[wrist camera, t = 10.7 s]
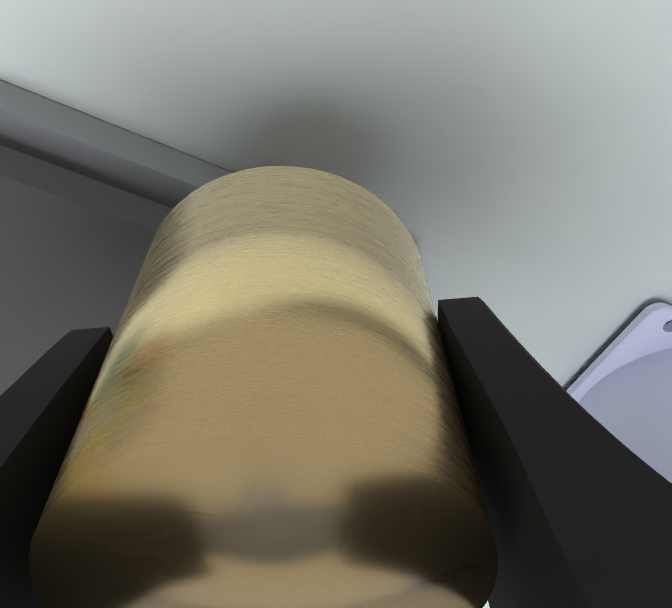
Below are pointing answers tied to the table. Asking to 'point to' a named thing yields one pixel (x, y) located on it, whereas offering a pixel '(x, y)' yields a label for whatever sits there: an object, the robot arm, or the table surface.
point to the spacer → (271, 420)
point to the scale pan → (64, 256)
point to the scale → (99, 148)
